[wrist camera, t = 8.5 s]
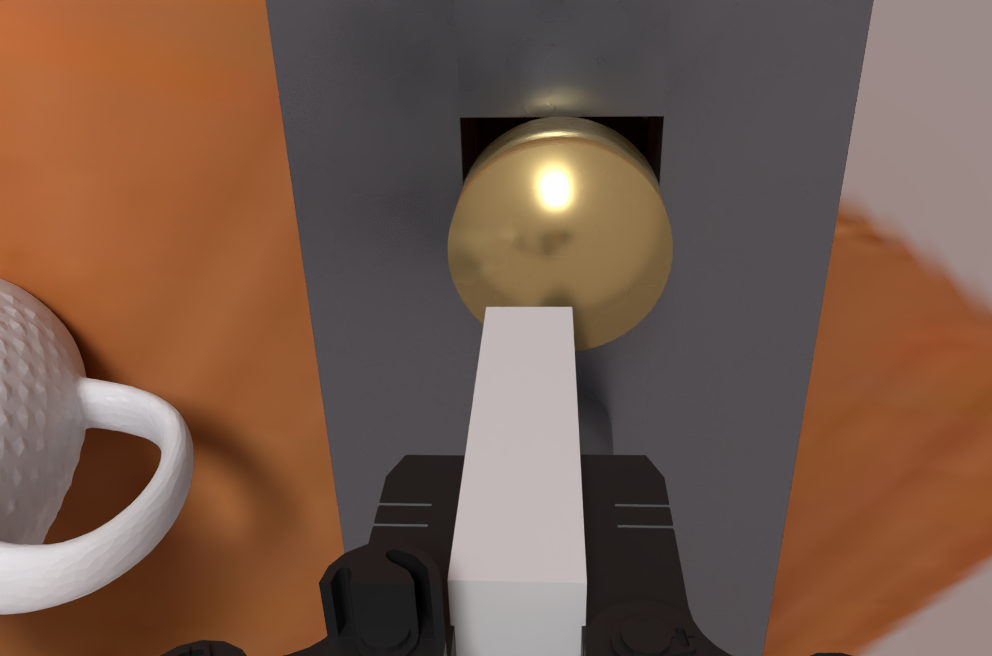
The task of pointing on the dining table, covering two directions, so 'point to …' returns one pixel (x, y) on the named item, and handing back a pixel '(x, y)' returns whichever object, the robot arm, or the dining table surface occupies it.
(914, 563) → the dining table surface
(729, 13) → the mount plate
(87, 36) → the dining table surface
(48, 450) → the mug
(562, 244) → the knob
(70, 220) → the dining table surface
